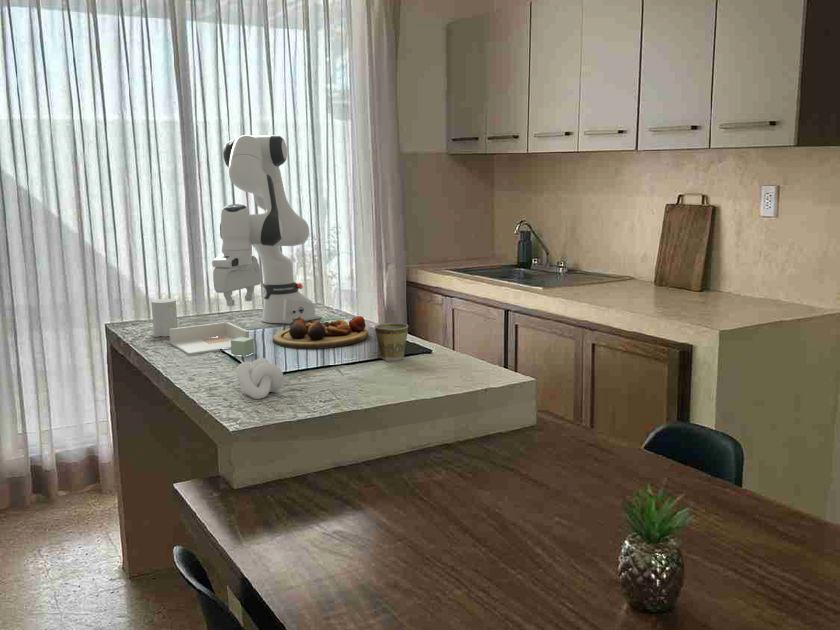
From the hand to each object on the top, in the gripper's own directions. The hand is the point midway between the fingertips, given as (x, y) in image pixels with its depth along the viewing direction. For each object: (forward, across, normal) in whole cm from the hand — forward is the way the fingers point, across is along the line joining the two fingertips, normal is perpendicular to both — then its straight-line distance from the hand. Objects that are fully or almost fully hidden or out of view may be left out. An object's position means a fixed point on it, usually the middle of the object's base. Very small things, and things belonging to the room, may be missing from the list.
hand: (239, 303), depth 253 cm
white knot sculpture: (+17, +36, +31) cm, 50 cm away
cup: (+16, -18, -44) cm, 50 cm away
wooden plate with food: (+17, -29, +12) cm, 35 cm away
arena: (+16, -8, -19) cm, 26 cm away
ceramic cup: (+16, -12, +46) cm, 50 cm away
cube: (+16, 0, 0) cm, 16 cm away
